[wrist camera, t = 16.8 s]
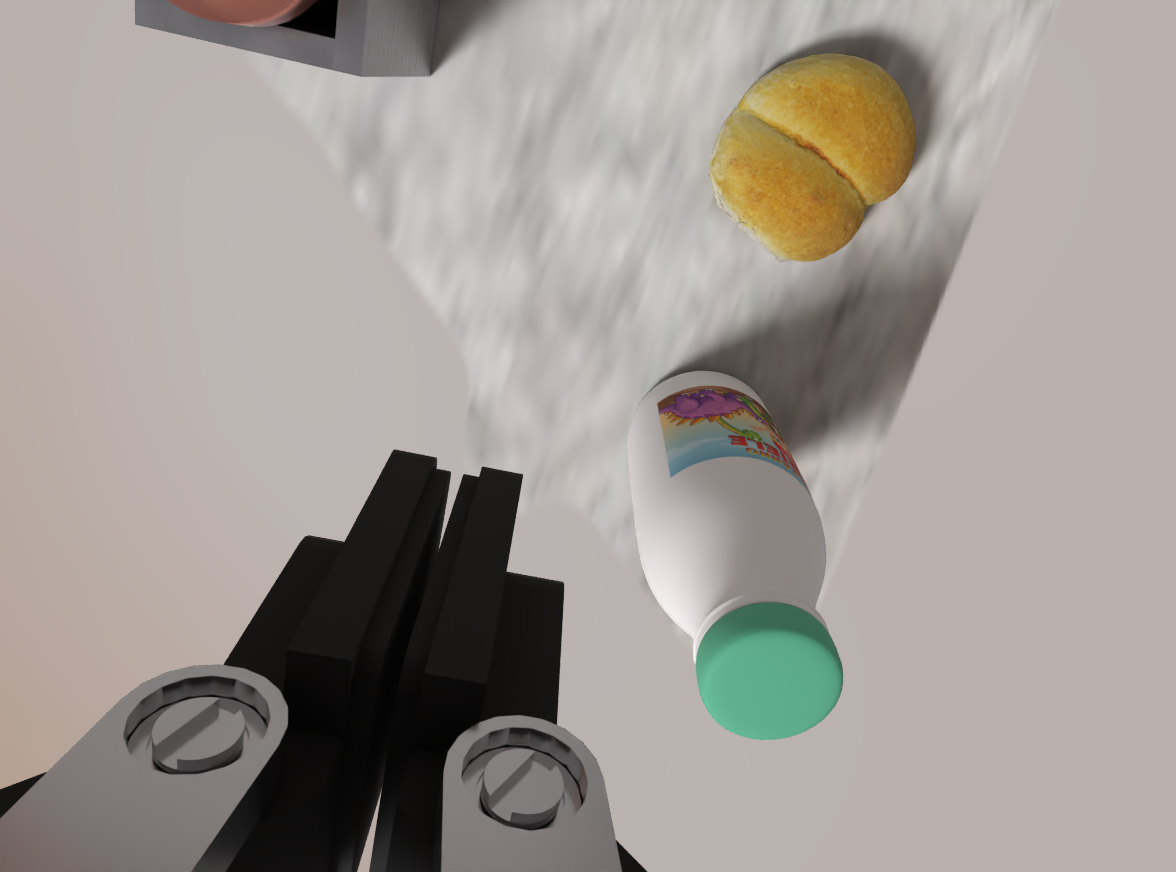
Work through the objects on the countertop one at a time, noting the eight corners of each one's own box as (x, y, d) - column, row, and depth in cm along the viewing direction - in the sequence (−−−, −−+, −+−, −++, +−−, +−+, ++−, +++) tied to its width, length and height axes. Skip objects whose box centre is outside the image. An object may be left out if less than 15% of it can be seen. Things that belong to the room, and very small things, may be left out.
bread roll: (936, 134, 38) (973, 141, 34) (797, 280, 41) (817, 301, 37) (813, 6, 36) (839, -2, 32) (675, 169, 39) (684, 179, 35)
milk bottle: (715, 520, 46) (796, 813, 28) (599, 455, 44) (604, 721, 26) (799, 412, 43) (950, 659, 25) (679, 339, 42) (746, 545, 23)
